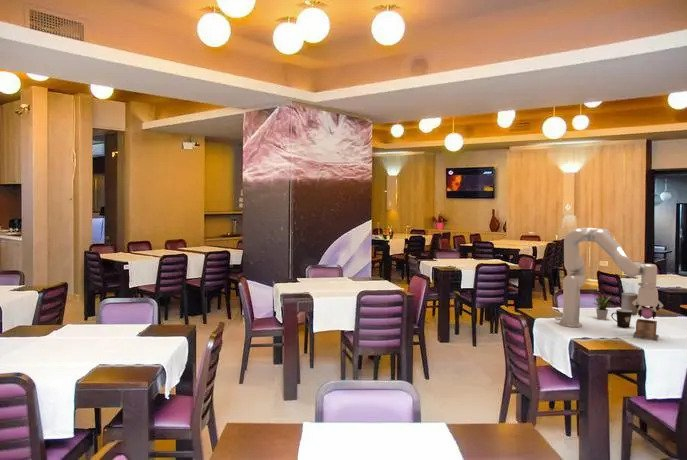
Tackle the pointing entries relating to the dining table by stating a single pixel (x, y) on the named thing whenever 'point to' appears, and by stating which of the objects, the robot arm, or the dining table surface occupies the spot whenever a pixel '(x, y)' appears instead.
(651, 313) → the plum ball
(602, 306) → the house plant
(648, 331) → the wooden cube shelf
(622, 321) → the coffee mug
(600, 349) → the dining table surface
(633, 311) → the pillar candle
